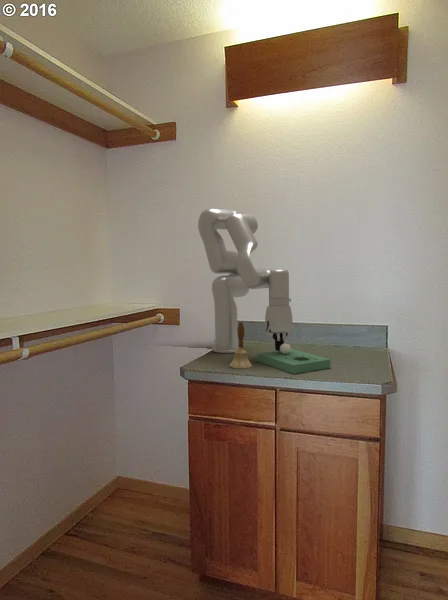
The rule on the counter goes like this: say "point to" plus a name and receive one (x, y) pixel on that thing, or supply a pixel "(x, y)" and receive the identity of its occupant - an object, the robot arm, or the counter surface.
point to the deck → (293, 361)
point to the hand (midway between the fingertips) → (279, 350)
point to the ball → (285, 348)
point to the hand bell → (240, 352)
